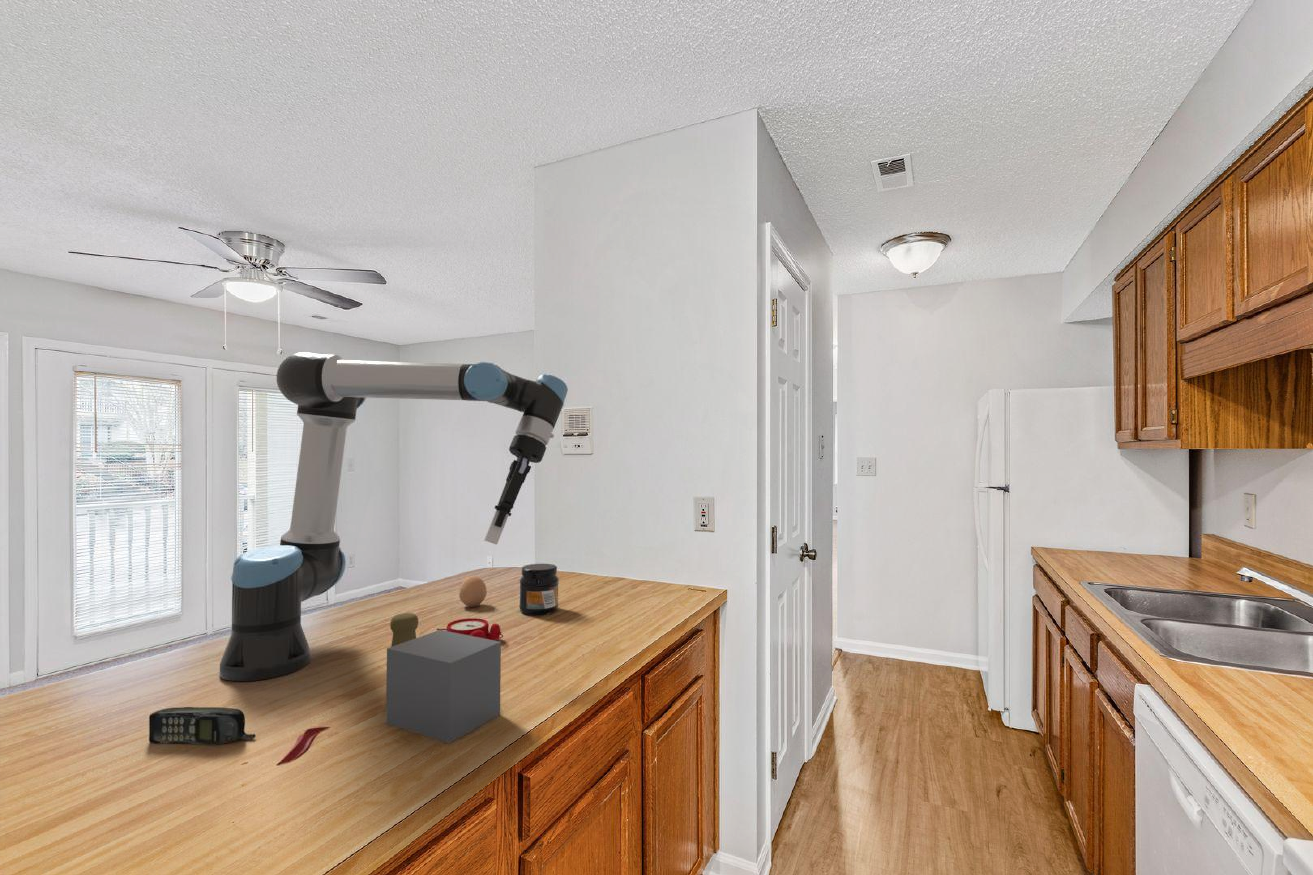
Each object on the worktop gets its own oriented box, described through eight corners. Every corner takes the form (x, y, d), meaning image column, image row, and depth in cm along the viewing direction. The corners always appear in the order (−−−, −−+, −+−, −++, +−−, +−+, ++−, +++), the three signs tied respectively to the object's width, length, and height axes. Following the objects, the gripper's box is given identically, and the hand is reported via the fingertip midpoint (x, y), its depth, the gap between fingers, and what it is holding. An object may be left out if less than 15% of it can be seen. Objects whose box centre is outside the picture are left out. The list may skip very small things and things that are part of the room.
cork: (426, 667, 119) (427, 612, 119) (402, 677, 113) (403, 620, 113) (405, 662, 121) (405, 608, 121) (380, 672, 116) (381, 616, 116)
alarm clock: (463, 616, 142) (511, 610, 136) (467, 642, 142) (515, 637, 135) (429, 627, 133) (478, 621, 127) (434, 656, 132) (483, 651, 126)
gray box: (449, 743, 88) (450, 663, 88) (385, 723, 94) (386, 648, 95) (500, 714, 98) (500, 641, 98) (439, 697, 104) (440, 629, 104)
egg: (478, 610, 160) (478, 579, 160) (453, 608, 161) (454, 577, 162) (491, 603, 167) (491, 573, 167) (467, 602, 169) (467, 572, 169)
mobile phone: (144, 713, 87) (245, 712, 87) (161, 704, 90) (258, 703, 90) (144, 747, 87) (245, 745, 87) (161, 737, 90) (259, 735, 90)
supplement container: (554, 616, 155) (554, 570, 155) (514, 616, 155) (515, 570, 155) (561, 605, 165) (562, 563, 166) (524, 605, 166) (524, 562, 166)
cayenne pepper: (321, 727, 94) (322, 715, 94) (346, 731, 93) (346, 718, 93) (253, 766, 82) (254, 752, 82) (280, 771, 81) (280, 757, 81)
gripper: (553, 440, 125) (512, 545, 117) (540, 453, 137) (503, 550, 129) (520, 426, 123) (476, 532, 115) (510, 441, 135) (470, 538, 126)
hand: (490, 541), depth 122 cm, fingers closed
